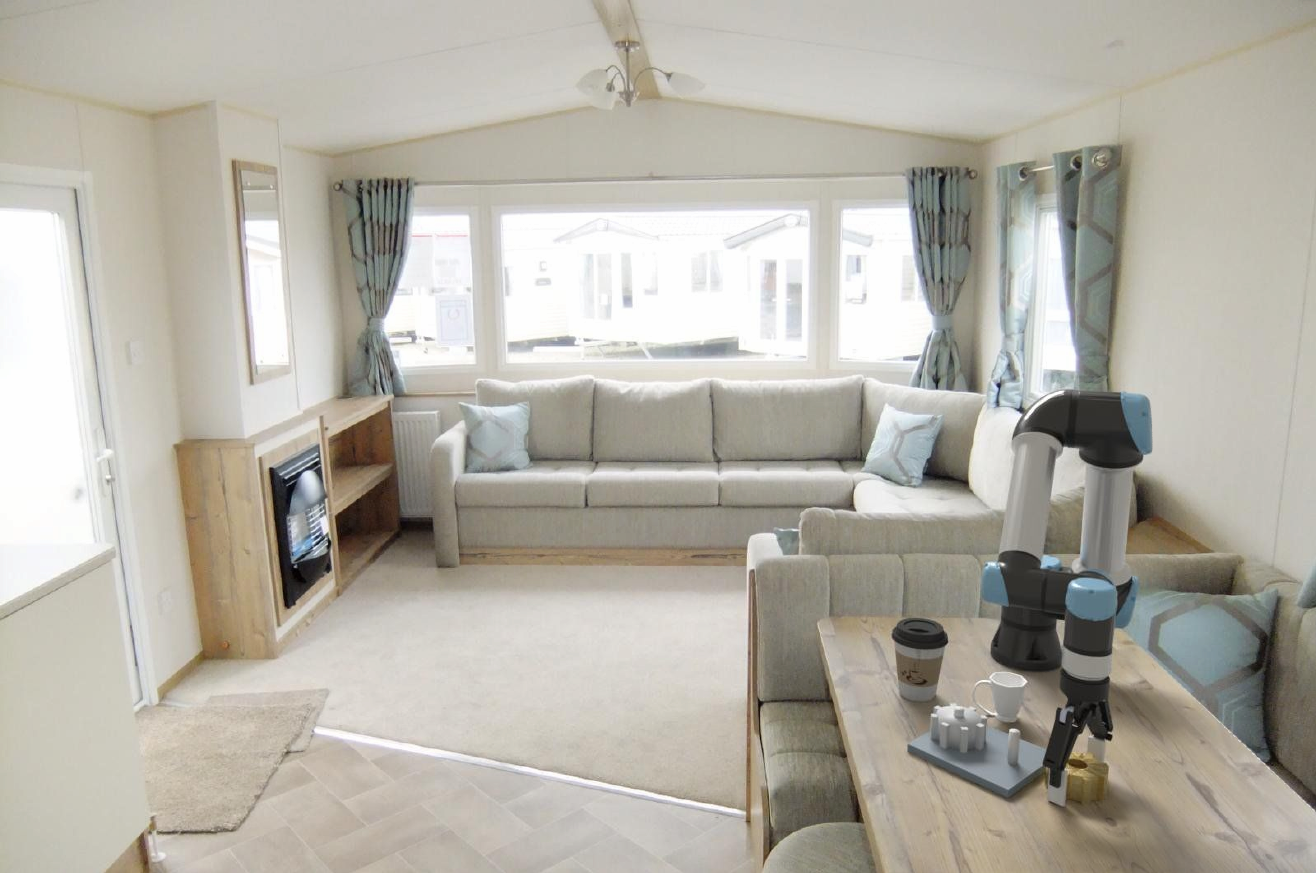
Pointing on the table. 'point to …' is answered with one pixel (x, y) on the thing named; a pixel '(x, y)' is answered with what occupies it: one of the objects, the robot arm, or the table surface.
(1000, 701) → the cup
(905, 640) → the coffee cup
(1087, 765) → the brass gear
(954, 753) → the gear board
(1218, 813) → the table surface
